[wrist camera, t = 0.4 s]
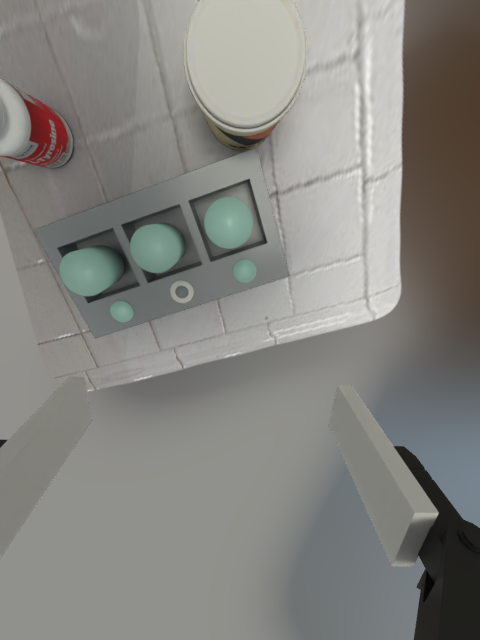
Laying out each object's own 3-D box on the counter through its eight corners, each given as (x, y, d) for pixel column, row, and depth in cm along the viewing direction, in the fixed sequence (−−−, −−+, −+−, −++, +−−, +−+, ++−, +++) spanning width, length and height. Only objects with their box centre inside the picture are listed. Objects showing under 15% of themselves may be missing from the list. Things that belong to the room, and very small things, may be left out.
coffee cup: (224, 174, 33) (219, 153, 22) (184, 88, 30) (156, 14, 19) (295, 133, 32) (328, 90, 21) (261, 40, 29) (279, -71, 18)
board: (59, 227, 35) (31, 230, 30) (252, 156, 33) (256, 147, 28) (111, 323, 40) (94, 339, 35) (282, 267, 38) (290, 276, 33)
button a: (76, 252, 33) (50, 259, 28) (112, 239, 32) (92, 244, 28) (96, 289, 34) (74, 301, 30) (131, 277, 34) (115, 288, 29)
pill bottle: (61, 180, 33) (-16, 165, 23) (11, 143, 32) (-96, 110, 21) (84, 132, 32) (13, 94, 21) (33, 92, 30) (-71, 29, 20)
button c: (202, 207, 31) (197, 206, 27) (242, 193, 31) (244, 190, 26) (216, 249, 33) (214, 254, 28) (254, 235, 32) (258, 239, 28)
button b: (137, 230, 32) (121, 233, 27) (176, 217, 31) (166, 217, 27) (155, 269, 34) (142, 279, 29) (191, 257, 33) (185, 264, 29)
